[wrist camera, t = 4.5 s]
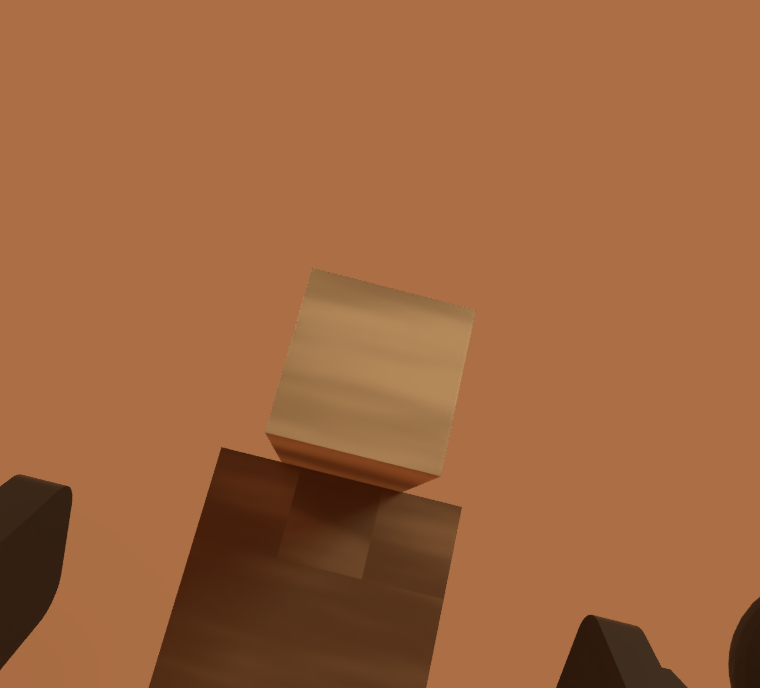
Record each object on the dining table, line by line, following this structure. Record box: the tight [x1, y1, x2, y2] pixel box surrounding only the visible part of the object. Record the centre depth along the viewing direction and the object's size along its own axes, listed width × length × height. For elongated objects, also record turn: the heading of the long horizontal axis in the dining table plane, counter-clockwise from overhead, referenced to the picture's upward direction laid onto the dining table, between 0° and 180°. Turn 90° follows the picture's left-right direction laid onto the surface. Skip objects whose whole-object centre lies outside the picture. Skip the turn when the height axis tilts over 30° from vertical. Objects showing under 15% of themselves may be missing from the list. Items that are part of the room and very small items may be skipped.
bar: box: [265, 268, 476, 492], centre depth 31 cm, size 24×5×5 cm, turn 5°
